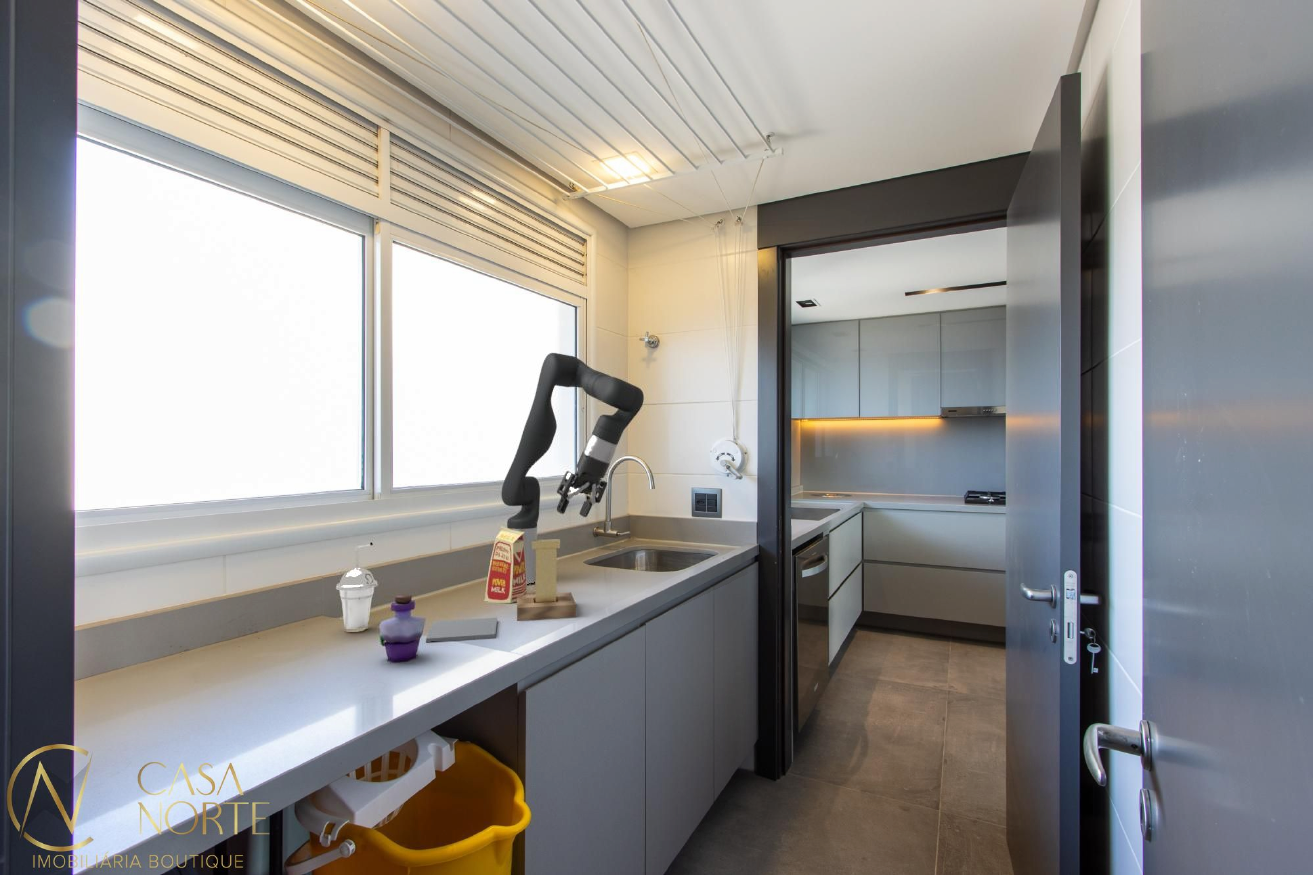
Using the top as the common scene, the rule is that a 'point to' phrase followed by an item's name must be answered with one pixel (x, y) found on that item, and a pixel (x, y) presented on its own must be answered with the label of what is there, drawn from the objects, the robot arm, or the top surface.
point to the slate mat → (463, 629)
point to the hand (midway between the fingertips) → (571, 514)
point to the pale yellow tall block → (545, 569)
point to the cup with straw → (356, 594)
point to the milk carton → (507, 568)
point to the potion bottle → (402, 631)
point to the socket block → (545, 607)
